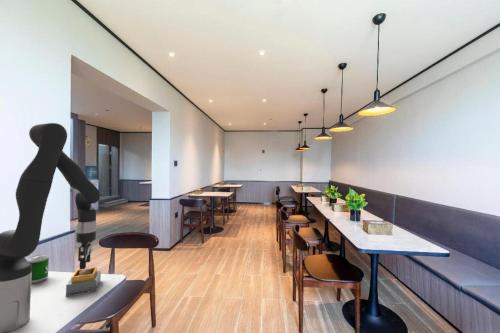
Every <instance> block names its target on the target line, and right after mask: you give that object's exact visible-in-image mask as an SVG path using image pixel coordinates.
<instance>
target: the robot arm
mask: <svg viewBox="0 0 500 333" xmlns="http://www.w3.org/2000/svg"><path fill="white" fill-rule="evenodd" d="M28 135H29V138H30V140H31V142H32V143H33V144H35V146H36V147H37V148H38V150H37V153H36V155H35V156H34V158H33V159H32V160H31V161H30V163H29V164H28V165H27V166H26V167H25V169H24V170H23V171H22V173H21V175H20V177H19V180H18V183H17V186H16V190H15V201H16V205H17V208H18V221H17V225H16V228H15V229H8V230H5V231H3V232H1V233H0V333H9V332H13V331H17V330H18V329H19V328H20V327H22V326H24V325H25V324H27V323H28V322H29V320H30V318H31V293H32V283H31V277H32V265H31V263H29V262H28V260H27V259H26V257H28V256H30V255H32V254H33V253H34V252H35V250H36V249H37V248H38V244H39V243H40V237H41V230H42V224H43V220H44V219H43V218H44V215H45V214H44V213H45V209H46V205H47V202H48V197H49V196H50V192H51V189H52V184H53V180H54V175H55V173H56V170H58V171H59V172H60V173H61V174H62V176H63V177H64V179H65V181H66V182H67V184H68V185H69V186H70V187H71V188H72V189H74V190H76V191H77V192H75V193H76V194H75V195H74V196H75V197H74V201H75V205H76V206H75V207H76V210H77V212H78V213H77V225H76V235H75V236H76V239H75V240H76V241H75V242H76V243H80V244H81V245H80V246H79V247H78V255H77V256H78V258H77V261H78V262H79V270H80V269H87V263H90V262H91V254H92V252H93V242H94V241H96V240H97V209H95V208H94V207H92V204H97V203H98V202H99V201H100V200H101V192H100V190H99V188H98V187H97V186H95V185H94V184H93V182H91V181H90V180H89V179H88V178H87V175H86V173H84V170H83V169H82V168H81V167H80V166H79V164H78V163H77V162H76V161H74V160H73V159H72V158H71V157H69V156H68V155H67V154H66V153H65V151H64V148H65V145H66V143H67V139H68V132H67V129H66V127H65V126H63V125H61V124H60V123H57V122H48V123H39V124H35V125H33V126H31V128H30V129H29V132H28Z"/></svg>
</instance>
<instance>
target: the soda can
mask: <svg viewBox="0 0 500 333" xmlns="http://www.w3.org/2000/svg"><path fill="white" fill-rule="evenodd" d="M49 260H50V257H49V255H47V254H44V253H43V254H36V255H32V256H31V257H30V258H29V259H28V260H27V261H28V262H29V263H31V265H32V277H31V284H39V283H41V282H42V283H43V282H44V281H45V280H46V279H47V278H48V277H49Z"/></svg>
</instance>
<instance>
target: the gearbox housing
mask: <svg viewBox="0 0 500 333" xmlns="http://www.w3.org/2000/svg"><path fill="white" fill-rule="evenodd" d="M86 269H91V274H87V275H80V276H79V272H80V271H81V270H84V269H80V268H79V269H76V270H75V271H74V273H73V274H72V276H71V278H70V279H69V281H68V282H67V283H66V285H65V287H66V288H65V297H73V296H78V295H81V294H82V295H83V294H88V293H89V294H90V293H93V292H97V289H98V287H99V285H100V282H101V278H102V271H101V270H98V267H90V268H89V267H88V268H87V267H86Z"/></svg>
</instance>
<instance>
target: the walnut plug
mask: <svg viewBox="0 0 500 333" xmlns="http://www.w3.org/2000/svg"><path fill="white" fill-rule="evenodd" d="M87 274H91V269H87V268H85V269H84V270H81V271H80V272H79V276H80V275H87Z"/></svg>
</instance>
